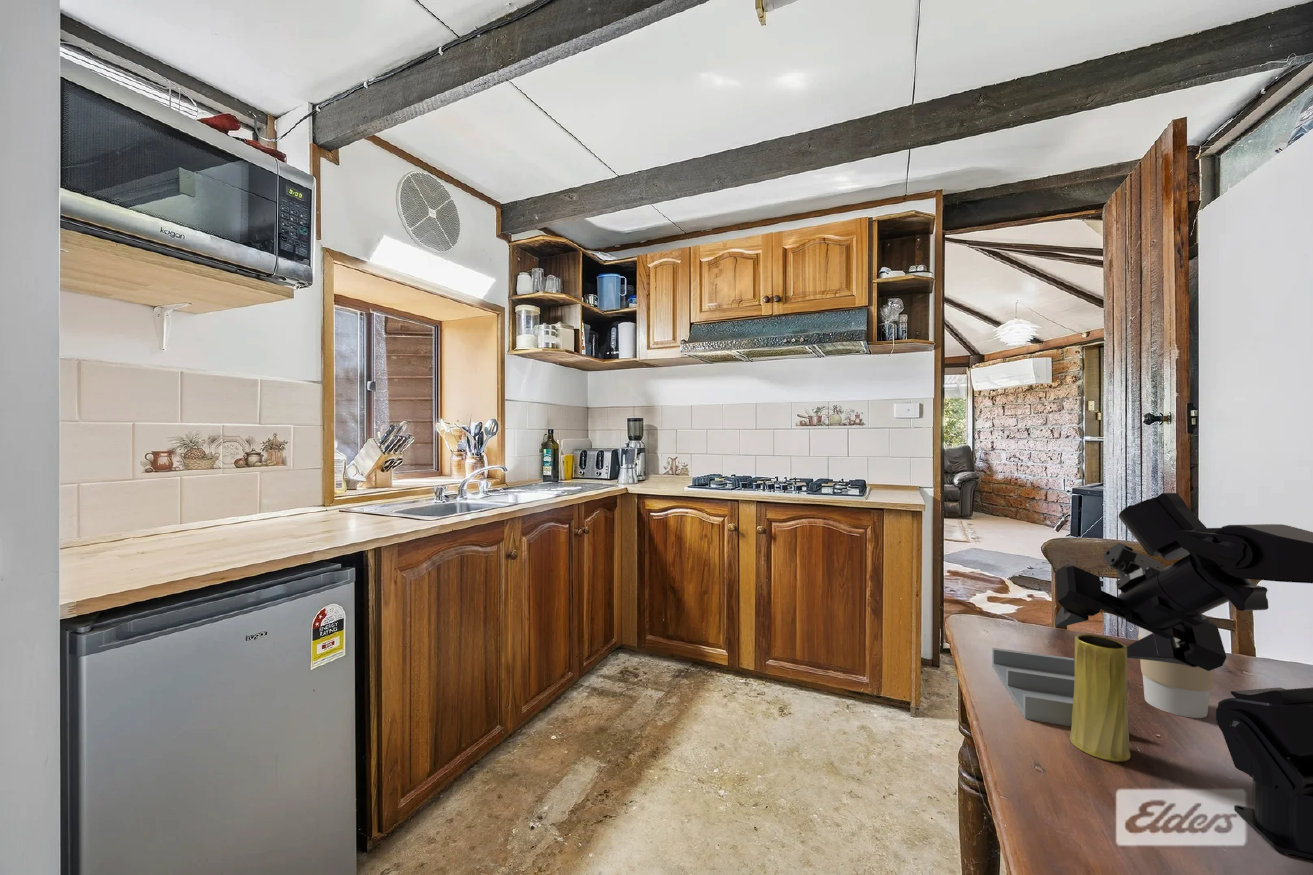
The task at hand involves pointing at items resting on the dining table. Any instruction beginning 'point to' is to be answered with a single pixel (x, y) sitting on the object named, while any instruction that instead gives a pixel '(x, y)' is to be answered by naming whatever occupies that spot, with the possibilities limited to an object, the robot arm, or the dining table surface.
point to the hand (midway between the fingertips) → (1089, 638)
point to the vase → (1100, 698)
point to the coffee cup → (1176, 685)
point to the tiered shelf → (1038, 684)
